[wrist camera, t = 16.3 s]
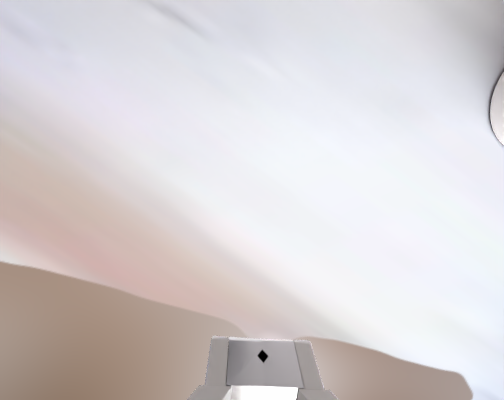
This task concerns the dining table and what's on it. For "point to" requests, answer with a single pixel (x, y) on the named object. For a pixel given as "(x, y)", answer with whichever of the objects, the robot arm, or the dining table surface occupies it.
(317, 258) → the dining table surface
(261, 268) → the dining table surface
